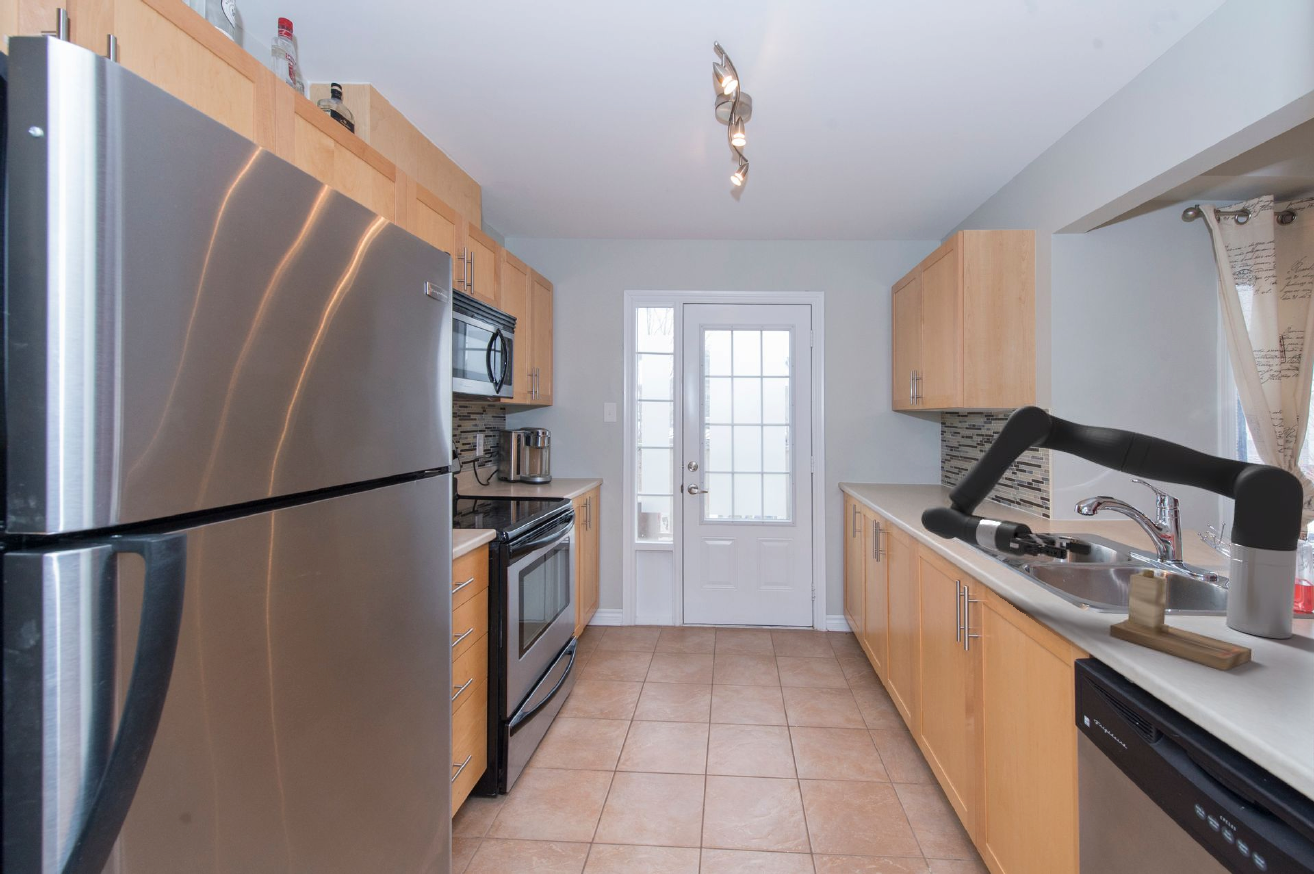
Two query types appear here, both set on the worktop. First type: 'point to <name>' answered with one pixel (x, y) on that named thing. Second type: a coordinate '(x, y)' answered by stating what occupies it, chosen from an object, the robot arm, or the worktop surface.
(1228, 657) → the plank
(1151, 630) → the pale wood tall block
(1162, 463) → the robot arm
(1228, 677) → the worktop surface
